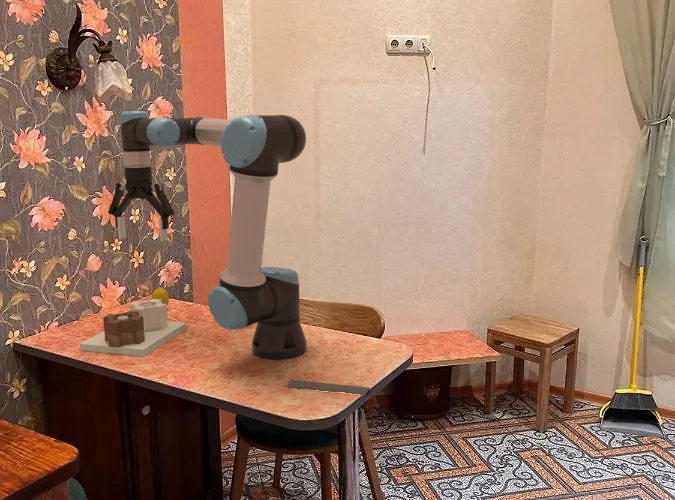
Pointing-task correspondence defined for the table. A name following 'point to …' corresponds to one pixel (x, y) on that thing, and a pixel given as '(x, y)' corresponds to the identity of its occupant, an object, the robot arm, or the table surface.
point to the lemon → (161, 295)
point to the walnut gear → (124, 329)
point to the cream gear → (151, 314)
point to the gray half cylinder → (327, 387)
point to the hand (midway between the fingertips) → (143, 239)
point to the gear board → (151, 343)
